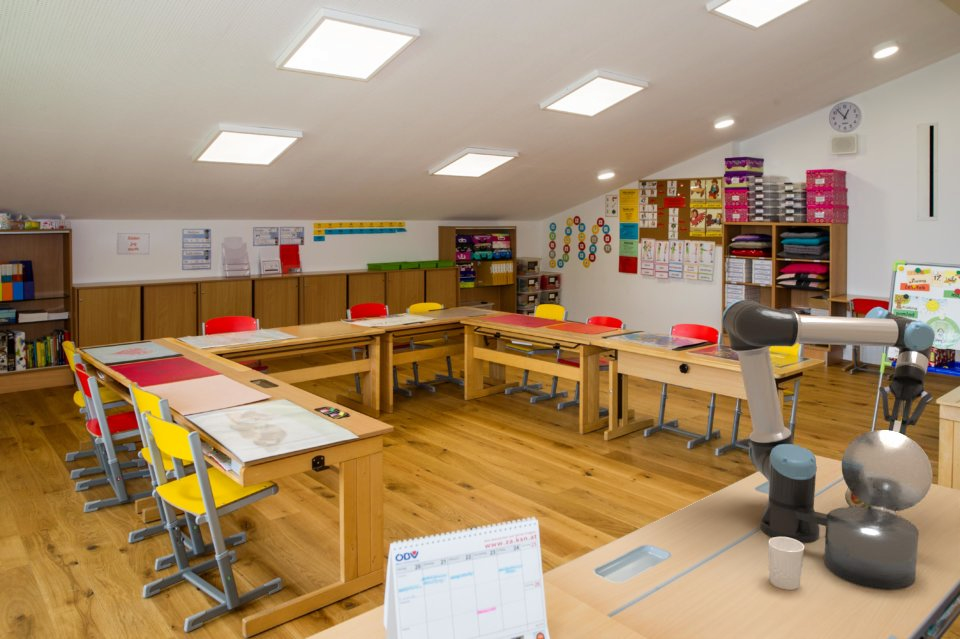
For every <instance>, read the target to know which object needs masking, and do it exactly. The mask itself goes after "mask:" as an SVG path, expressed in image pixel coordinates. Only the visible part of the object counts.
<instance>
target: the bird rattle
mask: <svg viewBox="0 0 960 639" xmlns="http://www.w3.org/2000/svg"><path fill="white" fill-rule="evenodd" d="M844 498H845V502H846V504H847V505H848V507H862V506H863V505H864V508H868V505H867V504H865V503H863V502H862V501H861V500H859V499H858V498H857V497H856V496H855V495H854V494H853V493H852V492H851V491H850V489H849V488H848V487H847V488H846V490H845V494H844Z"/></svg>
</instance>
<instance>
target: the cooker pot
mask: <svg viewBox="0 0 960 639" xmlns="http://www.w3.org/2000/svg"><path fill="white" fill-rule="evenodd" d="M795 519H799V520H803V521H807V522H811V523H815V524H819V526H824V527H825V536H824V537H825V539H824V556H823V557H824V558H823V563H824V566H825V568H827V570H828V571H829V572H831V573H832V574H833V575H834V576H837V577H838V578H840V579H842V580H844V581H847V582H849V583H852V584H854V585H858V586H861V587H865V588H869V589H876V590H883V591H884V590H885V591H887V590H889V591H892V590H901V589H902V590H903V589H906V588H909V587H911V586H912V585H913V584H914V583H915V581H916V571H917V556H918V546H919V533H920V532H919V529H918V527H917V526H916V525H915V524H914V523H912V522H911V521H909V520H907V518H905V517H902V516H900V515H897V514H895V515H894V514H891V513H888V512H884V511H880V510H876V509H870V508H865V507H862V506H860V507H850V506H847V507H846V506H845V507H839V508H835V509H832V510H830V511H829V512H827V513H824V512H823V513H822V512H818V511H811V510H807V509H803V508H798V509H797V510H796V511H795Z"/></svg>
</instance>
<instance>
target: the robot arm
mask: <svg viewBox="0 0 960 639" xmlns="http://www.w3.org/2000/svg"><path fill="white" fill-rule="evenodd" d="M721 315H722V316H721V325H722V327H723V330H724V332H726V334H727V336H728V339H729V345H730V349H731V351H732V352H734V353H736V355H737V357H738V362H739V367H740V371H741V377H742V381H743V386H744V391H745V396H746V400H747V405H748V406H747V407H748V410H749V414H750V420H751V425H752V431H751V433H750V434H749V442H750V443H749V446H748V456H749V458H750V461H751V463H752V465H753V466H754V468H755V469H756V470H757V471H758V472H760V474H761V475H763V476H764V478H766V481H768V483H769V484H768V485H769V486H768V502H767V504H766V507H765V509H764V512H763V514H762V515H761V520H760V529H761V531H762V532H763V533H765V534H766V535H767V536H769V537H770V538H774V537H788V538H792V539H795V540H797V541H799V542H801V543H802V544H804V543H810V542H814V541H817V540H818V539H819V537H820V530H821V529H820V525H819V524H815V523H811V522H807V521H803V520H799V519H795V511H796V510H797V509H798V508H803V509H807V510H811V511H815V492H816V478H817V476H816V475H817V471H818V470H817V469H818V467H817V458H816V456H815V454H814V453H813V452H812V451H811V450H809V449H807V448H805V447H801V446H800V445H797V444H794V441H793V440H794V439H793V436H792V431H791V430H790V429H789V428H788V427H785V424H784V418H783V414H782V409H781V405H780V404H781V403H780V400H779V393H778V389H777V384H776V379H775V374H774V373H775V372H774V369H773V363H772V359H771V354H770V348H772V347H794V346H795V345H796V344H813V345H814V344H815V345H840V346H862V347H863V346H867V347H870V346H871V347H891V348H896V349H898V355H897V359H896V363H895V369H894V372H893V376H892V381H891V382H890V383H888V386H886V387H884V386H879V389H878V390H879V395H880V396H881V398H882V400H881V401H882V409H883V410H882V411H883V418H884V421H885V422H889V426H888V431H894V432H897V433H900V434H903V435H905V436H906V433H907V427H908V426H916V425H917V422H918V421H919V419H920V417H921V415H922V414H923V413H924V410H926V407H927V405H928V404H930V403H931V402H932V401H933V395H932V393H931V392H927V391H925V387H924V384H925V379H926V374H927V371H928V367H929V366H928V365H929V361H930V360H929V359H930V357H931V354H932V353H931V352H932V348H933V345H934V341H935V336H936V335H935V331H934V328H933V327H932V325H929V324H928V323H926V322H924V321H922V320H915V319H911V318H908V317H904V316H900V315H897V314H894V313H893V312H891V311H889V310H887V309H885V308H883V307H881V306H877V307H876V306H875V307H873V308H872V309H871V310H869V311H868V312H867V313H866V315H865V316H864V317H850V316H849V317H847V316H826V315H799V314H798V313H796V311H794V310H781V309H778V308H773V307H770V306H766V305H764V304H761V303H758V302H757V301H755V300H752V299H738V300H735V301H733V302H731V303H729V304H728V305H727V306H726V308H725V309H724V311H723V313H722V314H721ZM890 393H891V394H892V395H893V398H895V399H894V403H893V406H892V411H891V415H890V410H889V399H888V396H889V395H890ZM919 398H921V399H920V400H919V402H918V404H917V405H916V407H915V409H914V411H913V412H912V414H911V410H912V406H913V403H914V401H916V400H917V399H919ZM903 402H905V403H904V407H903V412H902V415H901V416H902V417H901V420H898V418H899V414H900V410H901V407H902V406H901V405H902V403H903ZM815 512H816V511H815Z"/></svg>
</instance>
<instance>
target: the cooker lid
mask: <svg viewBox="0 0 960 639" xmlns="http://www.w3.org/2000/svg"><path fill="white" fill-rule="evenodd" d="M841 458H842V459H841V473H842V477H843V480H844V482H845V484H846V487H847V488H849V489H850V491H851V492H852V493H853V494H854V495H855V496H856V497H857V498H858V499H859V500H861V501H862V502H863V503H865V504H867V505H868V508H870V509H876V510H880V511H884V512H888V513H891V514H894V515H896V512H900V511H905V510H907V509H908V510H909V509H910V508H912V507H914V506H916V505H918V504H919V503H920V502H921V501H922V500H923V499H924V498H925V497H926V496H927V495H928V492H929V491H930V490H931V486H932V483H933V468H932V464H931V461H930V458H929V457H928V455H927V454H926V452H925V450H924V449H923V448H922V447H921V446H920V445H919V444H918V442H916V441H915V440H913V439H912V438H910V437H908V436H907V435H906V434H905V435H903V434H900V433H897V432H894V431H889V429H888V430H886V429H876V430H871V431H867V432H864V433H862V434H860V435H859V436H857V437H856V438H854V439H852V441H851V442H850V443H848V445H847V446H846V448H845V451H844V452H843V455H842V457H841Z"/></svg>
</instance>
